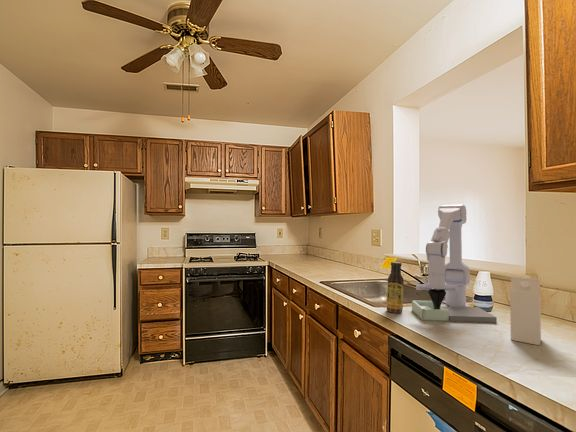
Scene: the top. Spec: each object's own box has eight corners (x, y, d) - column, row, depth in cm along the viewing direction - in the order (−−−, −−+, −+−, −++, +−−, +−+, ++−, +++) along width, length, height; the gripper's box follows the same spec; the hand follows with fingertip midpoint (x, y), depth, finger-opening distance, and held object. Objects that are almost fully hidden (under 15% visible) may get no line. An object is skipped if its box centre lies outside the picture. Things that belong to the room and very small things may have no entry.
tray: (412, 310, 134) (412, 300, 134) (435, 311, 133) (435, 301, 133) (422, 320, 120) (422, 309, 120) (448, 321, 119) (448, 310, 119)
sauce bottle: (385, 312, 131) (385, 262, 131) (388, 308, 136) (388, 260, 136) (402, 314, 128) (402, 263, 128) (404, 310, 133) (404, 261, 133)
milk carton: (513, 334, 106) (512, 275, 106) (540, 339, 101) (540, 277, 101) (510, 340, 100) (510, 277, 100) (540, 346, 96) (539, 280, 96)
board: (436, 311, 133) (436, 306, 133) (478, 312, 131) (478, 307, 131) (449, 321, 119) (449, 315, 119) (496, 322, 117) (496, 317, 117)
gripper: (419, 274, 120) (419, 312, 120) (461, 275, 119) (461, 313, 118) (414, 271, 127) (414, 307, 127) (453, 272, 126) (453, 308, 125)
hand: (436, 309), depth 123 cm, fingers closed
